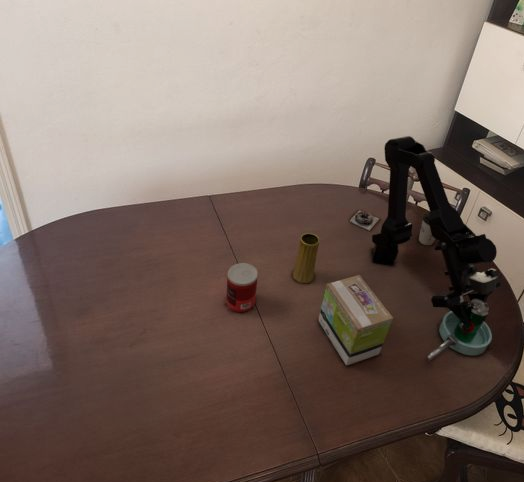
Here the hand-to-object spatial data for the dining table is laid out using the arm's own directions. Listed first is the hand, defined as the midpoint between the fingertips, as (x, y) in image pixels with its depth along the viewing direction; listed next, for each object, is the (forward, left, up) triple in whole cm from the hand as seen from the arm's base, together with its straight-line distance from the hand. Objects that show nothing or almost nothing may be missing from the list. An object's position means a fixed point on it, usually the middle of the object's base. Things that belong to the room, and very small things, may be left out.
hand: (475, 324), depth 117 cm
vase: (-44, +14, -7) cm, 47 cm away
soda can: (-1, +1, -6) cm, 7 cm away
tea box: (-31, -6, -7) cm, 33 cm away
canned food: (-60, 0, -7) cm, 61 cm away
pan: (-1, +1, -7) cm, 7 cm away
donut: (-25, +46, -7) cm, 53 cm away
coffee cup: (-5, +40, -7) cm, 41 cm away
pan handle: (-9, -7, -4) cm, 12 cm away
